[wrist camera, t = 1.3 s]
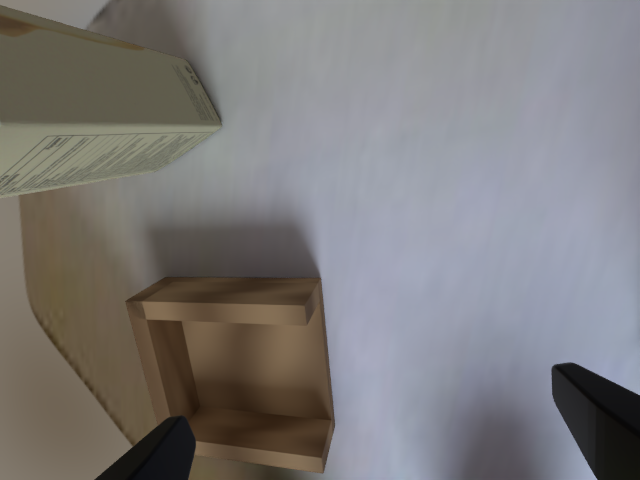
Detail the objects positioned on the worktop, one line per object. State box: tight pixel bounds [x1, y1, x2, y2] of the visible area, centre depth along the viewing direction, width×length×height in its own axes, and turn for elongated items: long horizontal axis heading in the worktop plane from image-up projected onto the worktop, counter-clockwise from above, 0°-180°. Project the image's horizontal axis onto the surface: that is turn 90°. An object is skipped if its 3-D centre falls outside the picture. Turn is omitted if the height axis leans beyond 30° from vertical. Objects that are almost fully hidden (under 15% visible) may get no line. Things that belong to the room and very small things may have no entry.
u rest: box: [125, 277, 335, 473], centre depth 23 cm, size 11×11×4 cm
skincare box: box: [0, 5, 222, 198], centre depth 16 cm, size 6×4×12 cm
